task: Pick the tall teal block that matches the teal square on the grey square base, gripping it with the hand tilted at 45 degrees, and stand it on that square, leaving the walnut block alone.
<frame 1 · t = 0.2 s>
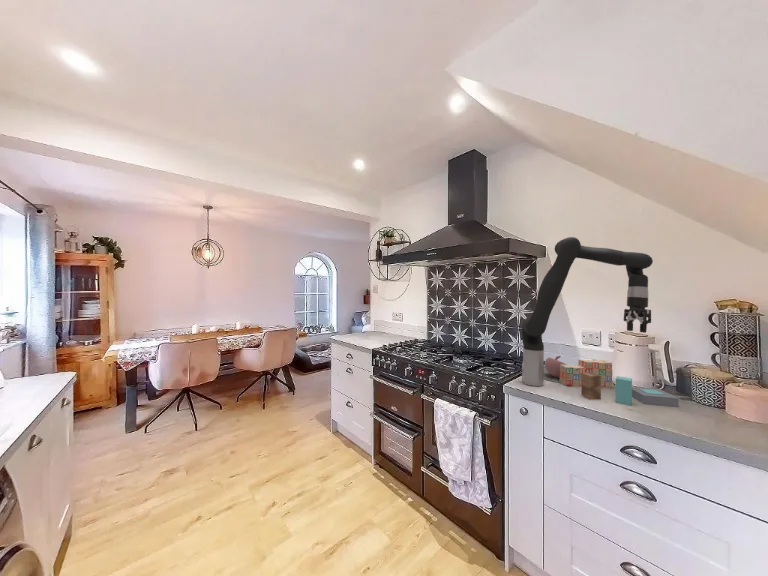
hand: (636, 331, 137), 28 cm above the table, tool pointing down, fingers open, 8 cm apart
grey square base: (651, 401, 127), on the table
pink apple: (557, 377, 161), on the table
walnut block: (590, 397, 130), on the table
teal block: (623, 402, 124), on the table
stack of blocks: (585, 385, 147), on the table
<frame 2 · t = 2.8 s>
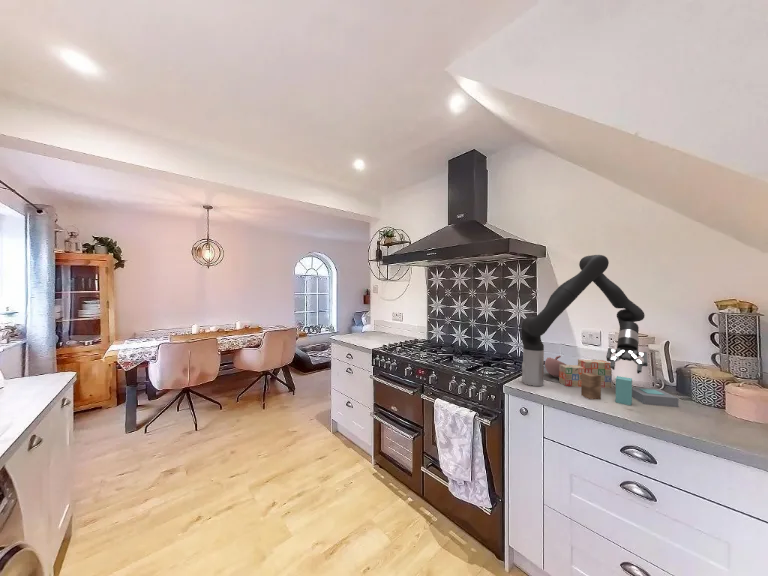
hand: (625, 370, 130), 12 cm above the table, tool tilted 45°, fingers open, 8 cm apart
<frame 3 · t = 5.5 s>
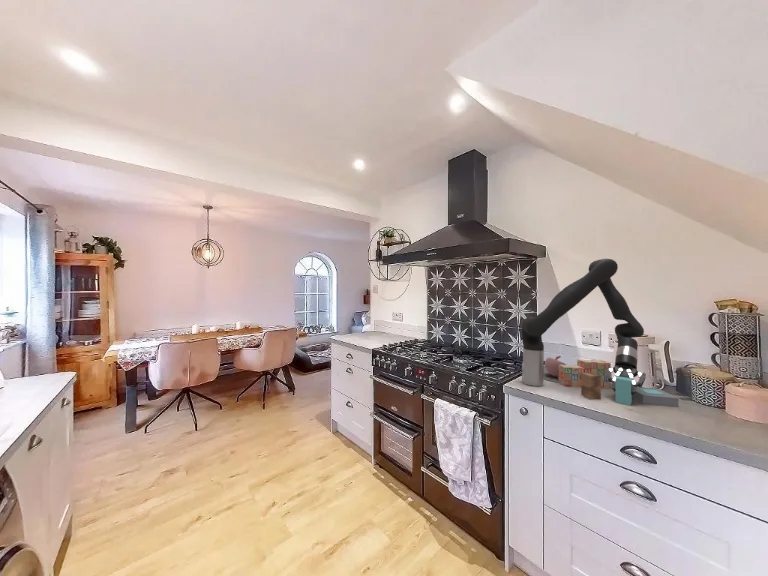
hand: (623, 392, 123), 5 cm above the table, tool tilted 45°, fingers closed on teal block, 5 cm apart
teal block: (623, 402, 124), on the table, touching gripper
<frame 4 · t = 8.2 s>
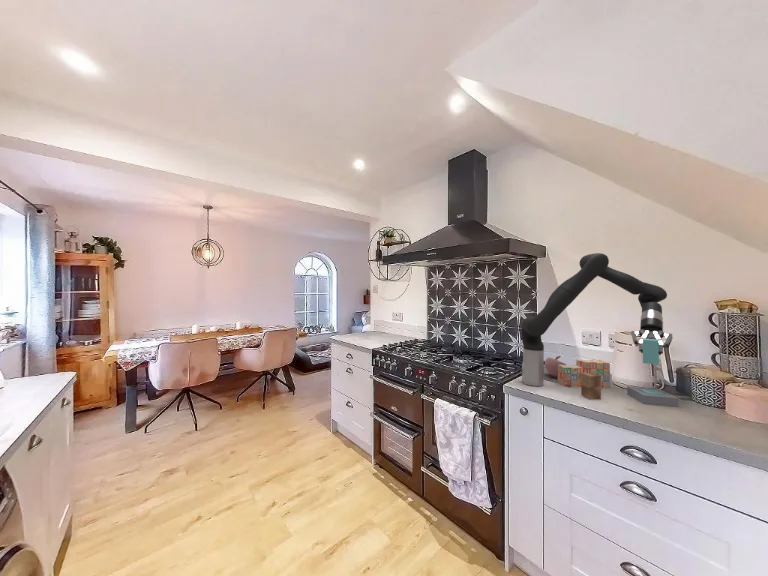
hand: (650, 352, 125), 21 cm above the table, tool tilted 45°, fingers closed on teal block, 5 cm apart
teal block: (651, 362, 127), point 16 cm above the table, touching gripper
when the fingers open (10 cm above the table, at t = 11.1 s): teal block drops 2 cm, resting on grey square base.
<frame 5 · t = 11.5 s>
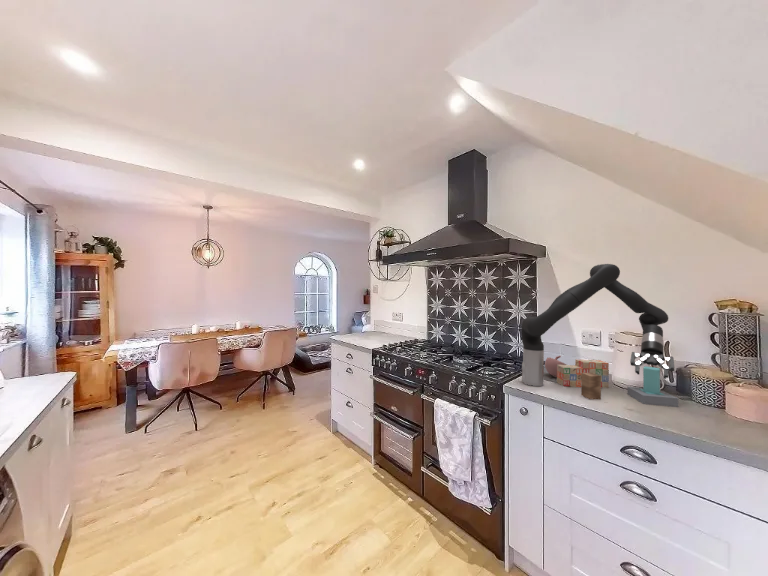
hand: (651, 375, 126), 11 cm above the table, tool tilted 45°, fingers open, 8 cm apart
grey square base: (651, 401, 127), on the table, touching teal block
teal block: (651, 391, 127), point 4 cm above the table, touching grey square base
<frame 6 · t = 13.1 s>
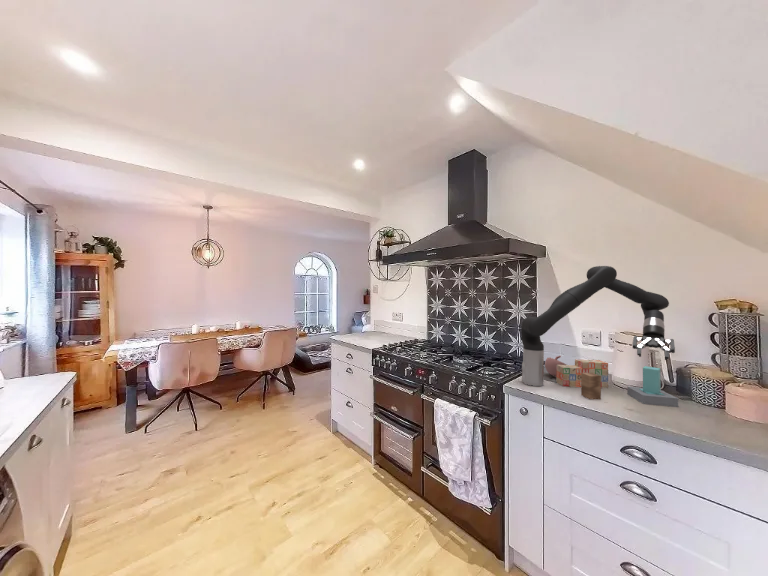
hand: (652, 357, 132), 17 cm above the table, tool tilted 45°, fingers open, 8 cm apart
grey square base: (651, 401, 127), on the table
teal block: (651, 391, 127), point 4 cm above the table
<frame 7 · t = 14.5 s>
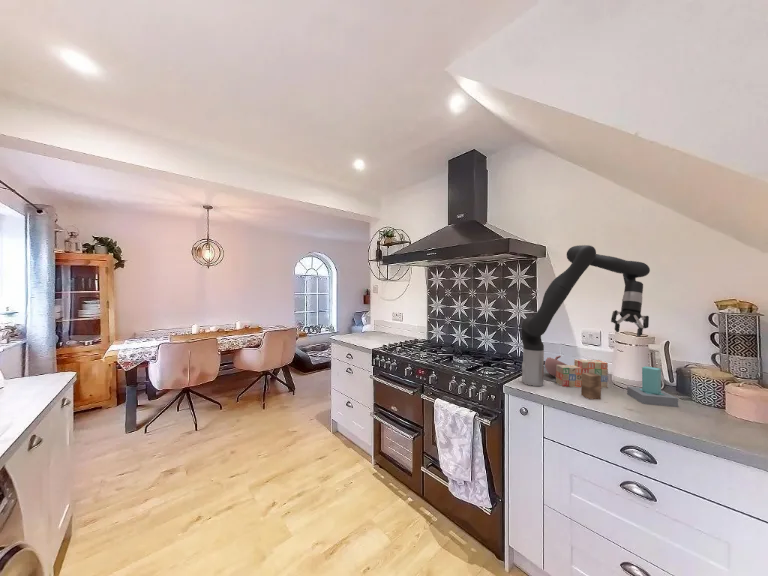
hand: (627, 333, 144), 26 cm above the table, tool tilted 15°, fingers open, 8 cm apart
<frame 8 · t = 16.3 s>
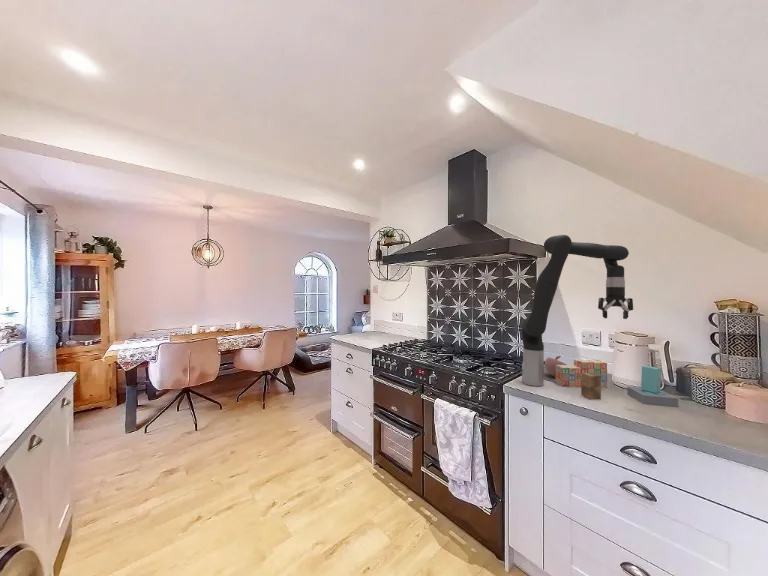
hand: (615, 318, 148), 33 cm above the table, tool pointing down, fingers open, 8 cm apart
at the end: teal block 0.4 cm off-centre on the grey square base, point 4.4 cm above the grey square base's base; teal block tilted 4°; walnut block moved 0.0 cm from its start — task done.
